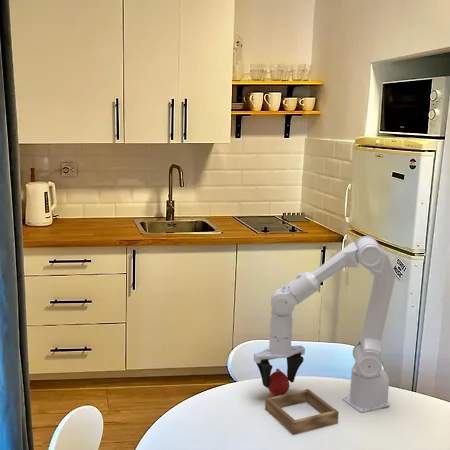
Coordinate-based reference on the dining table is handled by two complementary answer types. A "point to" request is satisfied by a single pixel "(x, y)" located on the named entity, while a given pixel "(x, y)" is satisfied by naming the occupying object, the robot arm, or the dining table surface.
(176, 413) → the dining table surface
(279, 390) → the onion
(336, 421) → the box
